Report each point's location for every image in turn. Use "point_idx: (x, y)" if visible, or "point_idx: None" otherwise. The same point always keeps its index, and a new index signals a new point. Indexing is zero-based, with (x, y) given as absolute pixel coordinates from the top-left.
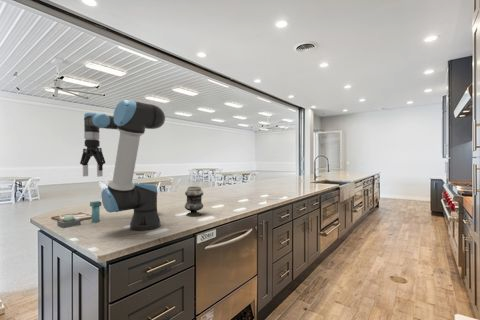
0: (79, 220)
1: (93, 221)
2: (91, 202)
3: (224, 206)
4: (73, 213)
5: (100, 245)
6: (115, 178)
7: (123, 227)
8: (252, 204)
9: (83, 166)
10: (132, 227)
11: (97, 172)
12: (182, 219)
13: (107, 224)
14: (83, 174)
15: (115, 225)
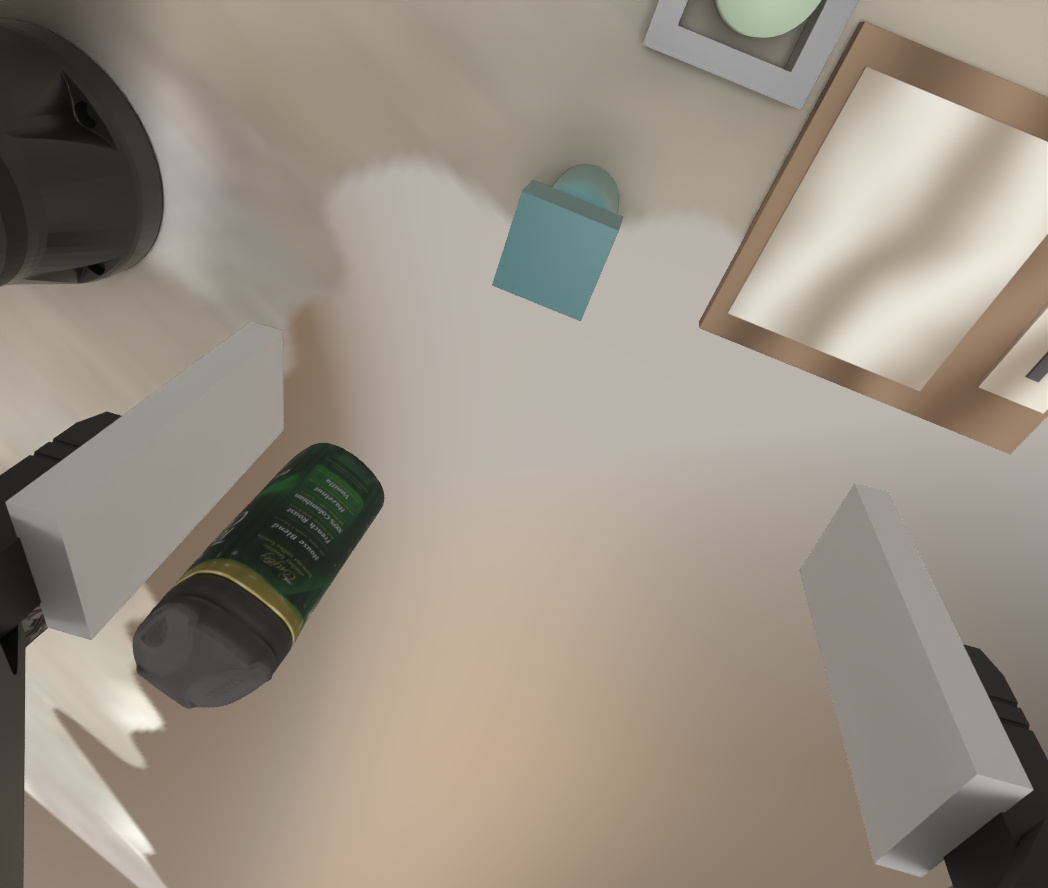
0: (646, 33)
1: (579, 167)
2: (579, 213)
3: (105, 716)
4: (1037, 367)
5: None
6: None
7: (177, 82)
8: (24, 755)
9: (957, 728)
10: (22, 25)
11: (206, 373)
12: (32, 407)
13: (388, 134)
14: (873, 518)
15: (294, 123)
